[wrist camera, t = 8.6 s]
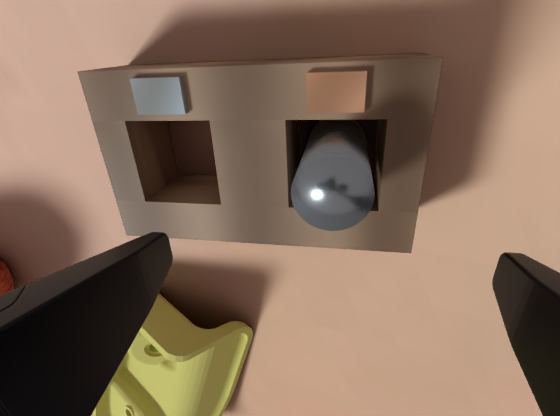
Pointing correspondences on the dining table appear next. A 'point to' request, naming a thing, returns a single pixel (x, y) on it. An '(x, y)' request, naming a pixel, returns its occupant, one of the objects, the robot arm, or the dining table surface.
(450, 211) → the dining table surface
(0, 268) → the apple
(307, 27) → the dining table surface
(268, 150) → the board
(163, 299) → the plastic component
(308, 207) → the plug
